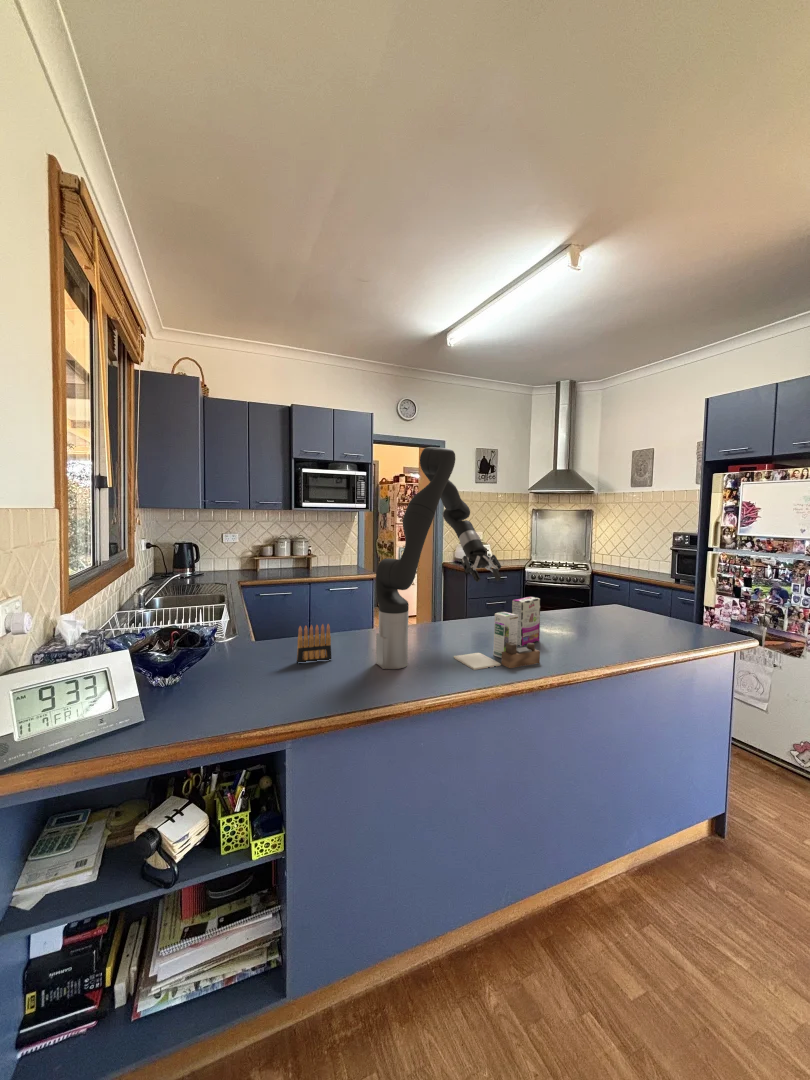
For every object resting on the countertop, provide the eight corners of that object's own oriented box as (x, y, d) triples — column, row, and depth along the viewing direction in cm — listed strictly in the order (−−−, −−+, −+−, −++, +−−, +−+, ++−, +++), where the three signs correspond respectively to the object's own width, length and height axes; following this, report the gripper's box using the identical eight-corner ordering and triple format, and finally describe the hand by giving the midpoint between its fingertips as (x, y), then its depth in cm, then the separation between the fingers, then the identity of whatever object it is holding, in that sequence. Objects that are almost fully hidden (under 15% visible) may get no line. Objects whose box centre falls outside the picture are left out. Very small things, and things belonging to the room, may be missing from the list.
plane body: (509, 668, 139) (510, 646, 138) (501, 664, 142) (502, 642, 142) (539, 663, 144) (540, 641, 143) (531, 659, 148) (531, 638, 147)
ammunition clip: (297, 664, 139) (297, 626, 139) (296, 662, 141) (296, 625, 140) (331, 660, 143) (331, 624, 142) (330, 659, 145) (330, 622, 144)
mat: (474, 670, 137) (474, 668, 137) (453, 658, 148) (453, 656, 148) (500, 665, 141) (500, 663, 141) (479, 654, 152) (479, 652, 152)
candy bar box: (528, 638, 172) (530, 596, 171) (539, 641, 168) (541, 598, 167) (510, 643, 165) (511, 599, 164) (521, 646, 161) (522, 601, 160)
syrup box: (492, 655, 151) (493, 613, 150) (504, 652, 154) (505, 610, 153) (505, 660, 146) (507, 616, 145) (517, 656, 150) (518, 614, 149)
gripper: (459, 538, 162) (476, 574, 152) (492, 538, 168) (510, 572, 158) (451, 552, 167) (467, 587, 158) (483, 551, 173) (500, 585, 164)
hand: (488, 580), depth 158 cm, fingers open, 8 cm apart
